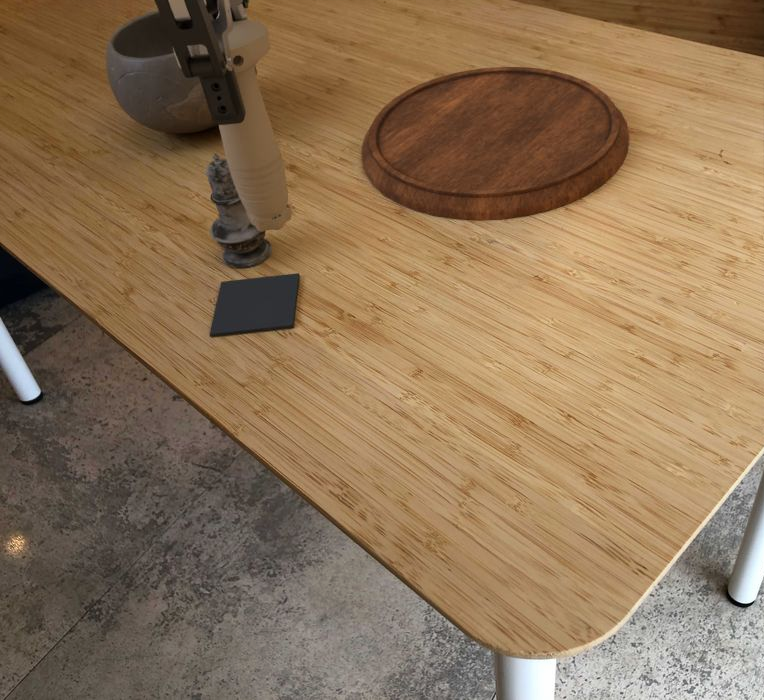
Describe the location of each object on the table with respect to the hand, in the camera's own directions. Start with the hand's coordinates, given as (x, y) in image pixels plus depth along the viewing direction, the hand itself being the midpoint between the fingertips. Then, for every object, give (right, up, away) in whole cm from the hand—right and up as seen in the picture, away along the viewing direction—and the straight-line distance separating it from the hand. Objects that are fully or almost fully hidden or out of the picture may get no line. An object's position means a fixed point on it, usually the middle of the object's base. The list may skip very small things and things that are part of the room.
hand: (236, 99), depth 60 cm
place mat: (-4, -13, +23) cm, 27 cm away
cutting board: (+20, +7, +42) cm, 47 cm away
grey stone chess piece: (-7, -8, +30) cm, 32 cm away
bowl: (-19, +12, +52) cm, 57 cm away
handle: (+1, -8, +7) cm, 11 cm away
